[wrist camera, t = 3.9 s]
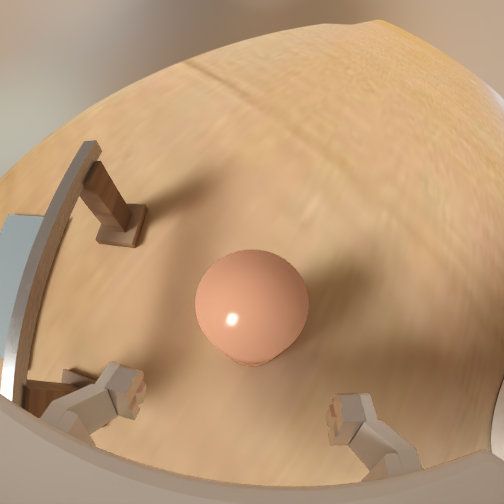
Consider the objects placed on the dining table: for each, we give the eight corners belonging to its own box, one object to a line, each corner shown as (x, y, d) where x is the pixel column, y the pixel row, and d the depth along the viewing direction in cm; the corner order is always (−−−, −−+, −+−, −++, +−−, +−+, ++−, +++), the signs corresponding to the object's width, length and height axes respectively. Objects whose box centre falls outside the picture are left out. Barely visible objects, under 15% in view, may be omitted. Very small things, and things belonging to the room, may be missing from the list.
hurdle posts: (147, 209, 25) (117, 150, 18) (100, 427, 16) (39, 439, 9) (112, 207, 25) (77, 153, 18) (63, 411, 17) (0, 412, 9)
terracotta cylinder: (285, 309, 21) (311, 255, 12) (279, 369, 19) (304, 364, 10) (225, 303, 21) (205, 244, 12) (216, 362, 19) (186, 350, 10)
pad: (66, 221, 24) (62, 217, 24) (26, 371, 18) (21, 370, 17) (11, 217, 25) (8, 214, 24) (-25, 338, 18) (-30, 336, 18)
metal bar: (102, 151, 18) (96, 140, 17) (23, 429, 9) (11, 430, 8) (90, 152, 18) (84, 141, 17) (12, 421, 9) (-1, 421, 8)
